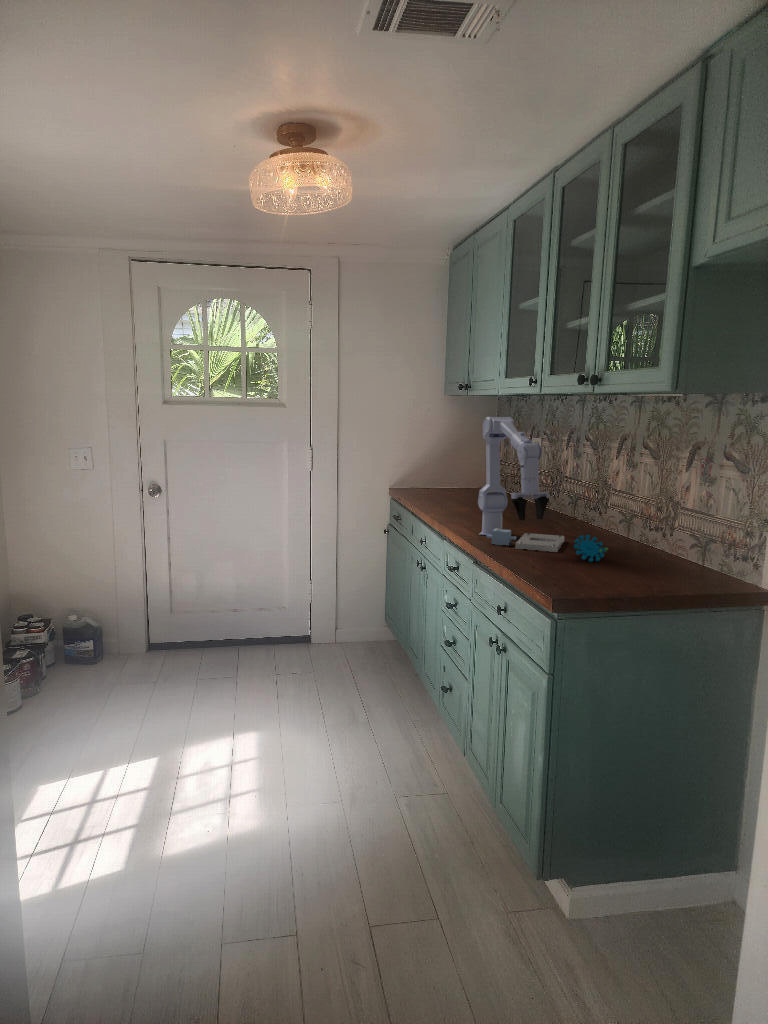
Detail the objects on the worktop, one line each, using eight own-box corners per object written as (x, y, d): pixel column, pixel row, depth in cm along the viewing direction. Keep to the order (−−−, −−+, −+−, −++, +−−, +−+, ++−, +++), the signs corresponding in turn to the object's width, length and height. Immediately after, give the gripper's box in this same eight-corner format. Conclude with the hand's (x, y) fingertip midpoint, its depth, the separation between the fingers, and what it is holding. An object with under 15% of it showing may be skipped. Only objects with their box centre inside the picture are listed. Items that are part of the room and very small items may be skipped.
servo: (488, 542, 242) (488, 527, 242) (516, 544, 239) (517, 529, 238) (485, 544, 239) (486, 529, 238) (514, 546, 235) (515, 531, 234)
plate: (524, 538, 250) (525, 532, 249) (564, 541, 245) (564, 535, 244) (515, 548, 231) (515, 542, 231) (557, 552, 226) (557, 545, 226)
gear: (576, 557, 211) (573, 531, 217) (569, 567, 216) (567, 541, 222) (611, 562, 212) (607, 536, 218) (603, 572, 217) (600, 546, 223)
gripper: (520, 479, 220) (521, 521, 221) (554, 478, 227) (555, 519, 227) (506, 479, 226) (507, 520, 227) (540, 479, 233) (541, 518, 234)
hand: (530, 519), depth 227 cm, fingers open, 7 cm apart
